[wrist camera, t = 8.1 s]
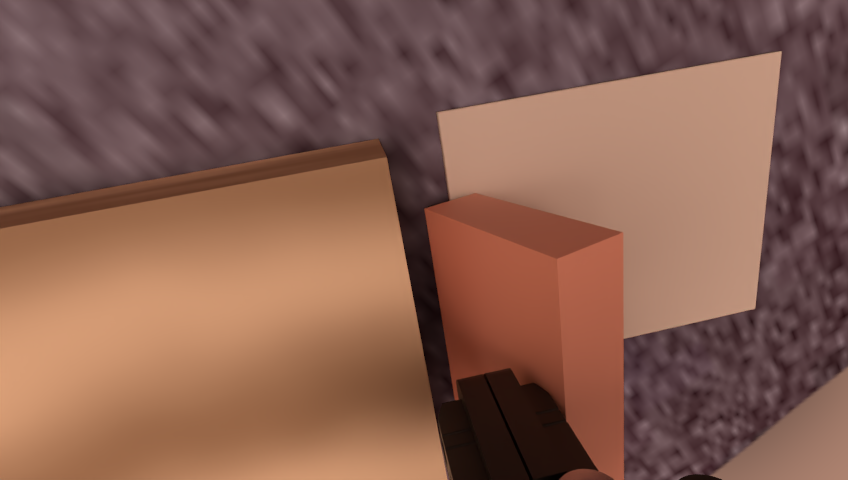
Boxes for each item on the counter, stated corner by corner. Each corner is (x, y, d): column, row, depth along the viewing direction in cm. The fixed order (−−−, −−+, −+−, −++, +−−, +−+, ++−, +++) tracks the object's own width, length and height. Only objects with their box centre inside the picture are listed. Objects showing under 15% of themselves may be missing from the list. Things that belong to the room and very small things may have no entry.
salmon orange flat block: (556, 258, 10) (622, 232, 10) (424, 208, 15) (475, 193, 15) (573, 555, 13) (624, 516, 13) (459, 427, 18) (500, 405, 19)
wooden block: (-85, 222, 14) (-252, 275, 10) (378, 138, 15) (386, 156, 11) (93, 531, 18) (24, 648, 14) (437, 447, 19) (458, 536, 15)
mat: (436, 112, 15) (437, 112, 14) (773, 51, 16) (781, 51, 15) (473, 368, 18) (475, 372, 18) (749, 305, 19) (755, 308, 19)
